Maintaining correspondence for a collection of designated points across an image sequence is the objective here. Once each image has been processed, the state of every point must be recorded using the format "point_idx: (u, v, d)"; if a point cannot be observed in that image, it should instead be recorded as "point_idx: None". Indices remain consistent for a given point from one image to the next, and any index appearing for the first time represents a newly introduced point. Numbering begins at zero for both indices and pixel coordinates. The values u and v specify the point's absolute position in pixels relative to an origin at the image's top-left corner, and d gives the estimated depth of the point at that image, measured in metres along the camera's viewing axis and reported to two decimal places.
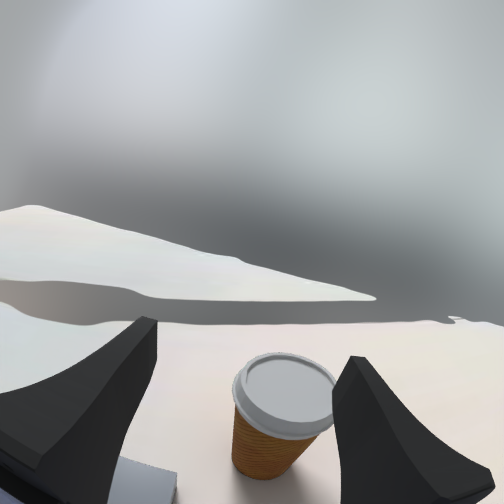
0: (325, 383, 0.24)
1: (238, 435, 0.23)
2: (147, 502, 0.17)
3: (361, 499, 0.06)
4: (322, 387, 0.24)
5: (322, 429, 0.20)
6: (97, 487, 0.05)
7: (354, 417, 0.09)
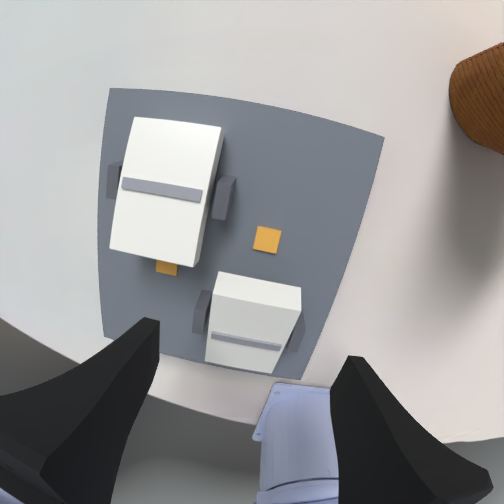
0: None
1: None
2: (332, 204, 0.15)
3: (358, 499, 0.06)
4: None
5: None
6: (100, 488, 0.05)
7: (352, 417, 0.09)
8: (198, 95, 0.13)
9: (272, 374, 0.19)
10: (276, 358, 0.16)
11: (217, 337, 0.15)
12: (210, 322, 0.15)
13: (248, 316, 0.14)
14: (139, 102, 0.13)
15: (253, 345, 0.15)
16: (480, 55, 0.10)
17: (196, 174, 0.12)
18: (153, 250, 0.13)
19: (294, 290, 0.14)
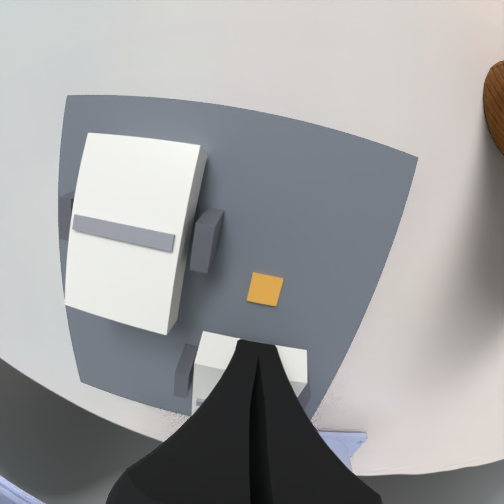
0: None
1: None
2: (349, 244, 0.11)
3: None
4: None
5: None
6: None
7: (252, 408, 0.08)
8: (173, 100, 0.10)
9: None
10: None
11: None
12: (194, 390, 0.11)
13: None
14: (100, 112, 0.10)
15: None
16: None
17: (166, 212, 0.09)
18: (116, 311, 0.09)
19: (298, 354, 0.11)
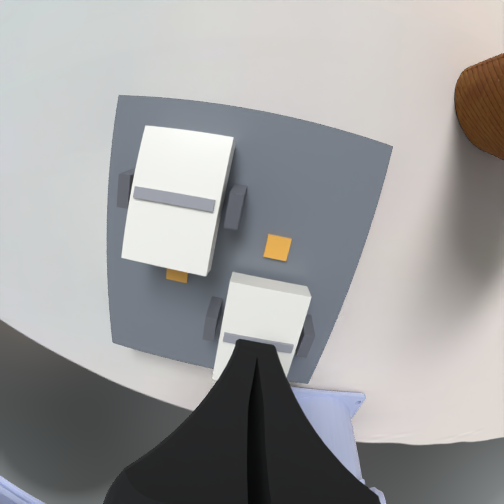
0: None
1: None
2: (341, 212, 0.15)
3: None
4: None
5: None
6: None
7: (250, 407, 0.08)
8: (209, 103, 0.13)
9: None
10: (287, 366, 0.16)
11: (230, 338, 0.15)
12: (224, 320, 0.15)
13: (261, 308, 0.15)
14: (148, 109, 0.13)
15: None
16: (486, 64, 0.10)
17: (209, 184, 0.12)
18: (166, 259, 0.13)
19: (301, 286, 0.16)
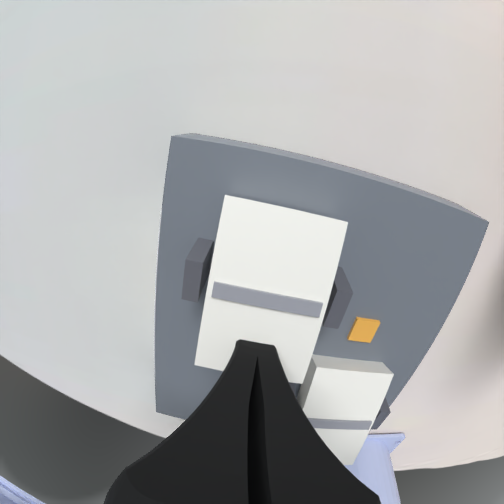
0: None
1: None
2: (432, 292, 0.12)
3: None
4: None
5: None
6: None
7: (251, 407, 0.08)
8: (304, 163, 0.10)
9: None
10: (362, 441, 0.13)
11: None
12: (305, 405, 0.12)
13: (346, 390, 0.12)
14: (218, 162, 0.11)
15: (345, 426, 0.12)
16: None
17: (315, 283, 0.10)
18: None
19: (378, 363, 0.14)
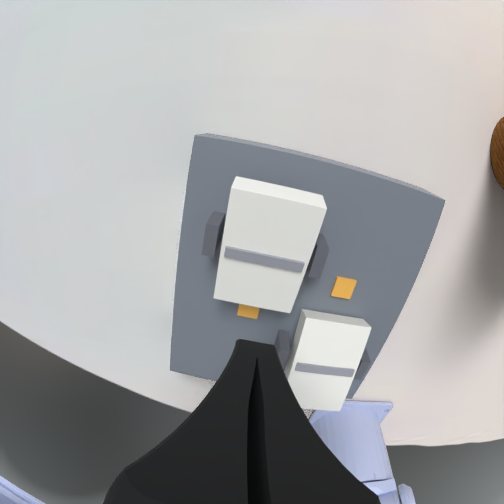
0: None
1: None
2: (399, 257, 0.16)
3: None
4: None
5: None
6: None
7: (250, 407, 0.08)
8: (292, 155, 0.14)
9: None
10: (347, 388, 0.17)
11: (301, 367, 0.16)
12: (297, 351, 0.16)
13: (331, 339, 0.16)
14: (229, 154, 0.14)
15: (331, 372, 0.16)
16: None
17: (299, 249, 0.13)
18: (256, 301, 0.15)
19: (359, 319, 0.17)
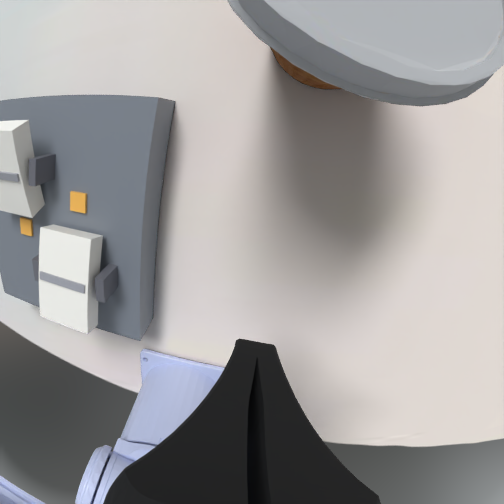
0: None
1: None
2: (119, 165, 0.15)
3: None
4: None
5: (446, 98, 0.06)
6: None
7: (250, 407, 0.08)
8: (34, 98, 0.14)
9: (115, 331, 0.20)
10: (85, 307, 0.16)
11: (43, 276, 0.16)
12: (39, 260, 0.16)
13: (60, 249, 0.15)
14: (6, 109, 0.14)
15: (65, 285, 0.16)
16: None
17: (12, 164, 0.13)
18: (13, 209, 0.15)
19: (96, 235, 0.16)
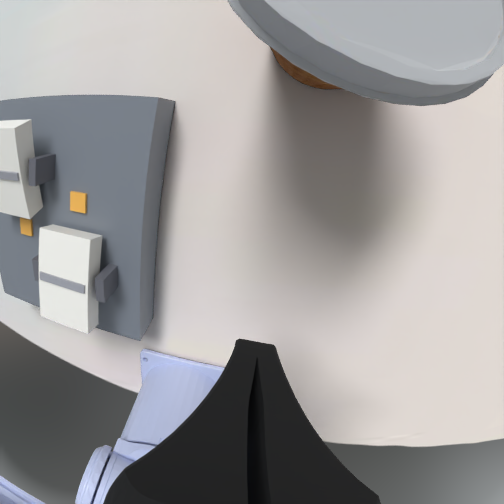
0: None
1: None
2: (119, 165, 0.15)
3: None
4: None
5: (446, 97, 0.06)
6: None
7: (250, 407, 0.08)
8: (34, 98, 0.14)
9: (115, 331, 0.20)
10: (85, 307, 0.16)
11: (43, 276, 0.16)
12: (39, 260, 0.15)
13: (59, 249, 0.15)
14: (6, 109, 0.14)
15: (65, 285, 0.16)
16: None
17: (12, 162, 0.13)
18: (11, 210, 0.15)
19: (95, 235, 0.16)
